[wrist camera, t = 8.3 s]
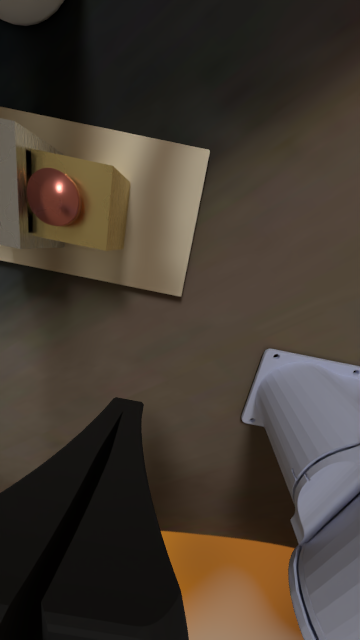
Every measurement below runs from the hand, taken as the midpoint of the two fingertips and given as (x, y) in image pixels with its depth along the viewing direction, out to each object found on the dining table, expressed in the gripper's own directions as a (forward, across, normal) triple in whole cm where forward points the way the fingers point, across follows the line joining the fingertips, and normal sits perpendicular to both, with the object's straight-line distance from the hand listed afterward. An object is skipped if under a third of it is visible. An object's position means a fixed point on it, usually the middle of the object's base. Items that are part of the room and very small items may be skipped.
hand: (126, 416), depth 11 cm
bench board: (+10, +8, -9) cm, 16 cm away
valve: (+9, +7, -9) cm, 15 cm away
